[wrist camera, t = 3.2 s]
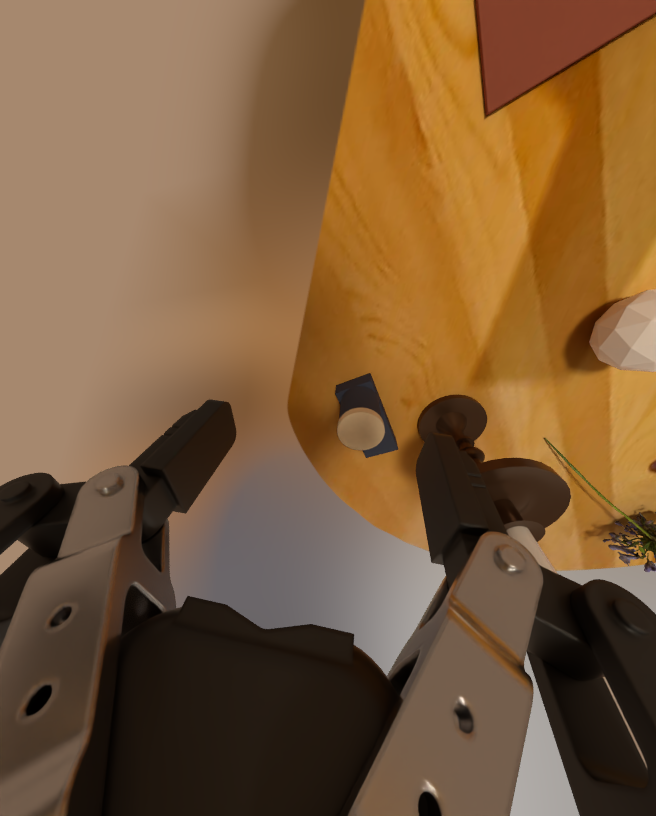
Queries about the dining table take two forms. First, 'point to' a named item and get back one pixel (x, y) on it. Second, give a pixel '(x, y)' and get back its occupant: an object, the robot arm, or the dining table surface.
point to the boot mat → (544, 39)
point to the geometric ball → (628, 333)
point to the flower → (650, 539)
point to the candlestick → (505, 479)
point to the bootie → (363, 418)
